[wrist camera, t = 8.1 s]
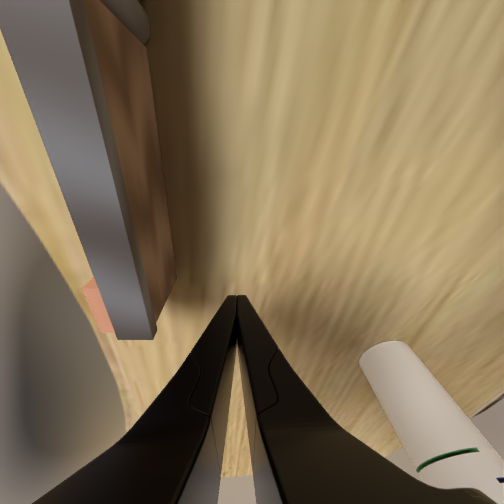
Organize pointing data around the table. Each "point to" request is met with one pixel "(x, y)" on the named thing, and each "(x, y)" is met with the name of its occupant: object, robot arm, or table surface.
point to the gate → (100, 147)
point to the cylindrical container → (431, 423)
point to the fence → (137, 22)
